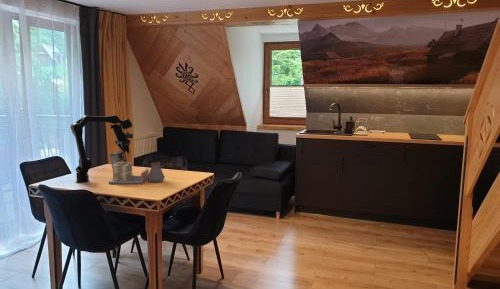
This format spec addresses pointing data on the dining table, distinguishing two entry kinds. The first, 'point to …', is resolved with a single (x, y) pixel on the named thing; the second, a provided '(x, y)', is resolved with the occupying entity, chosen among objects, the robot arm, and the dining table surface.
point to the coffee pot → (156, 173)
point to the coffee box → (117, 157)
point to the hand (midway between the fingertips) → (126, 152)
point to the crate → (122, 171)
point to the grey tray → (134, 179)
